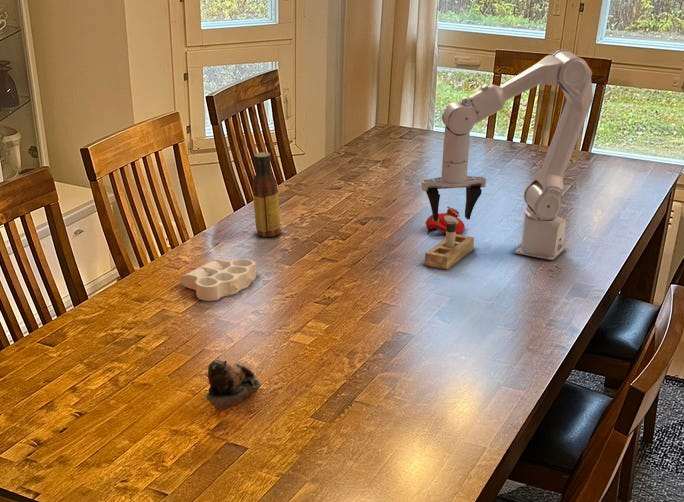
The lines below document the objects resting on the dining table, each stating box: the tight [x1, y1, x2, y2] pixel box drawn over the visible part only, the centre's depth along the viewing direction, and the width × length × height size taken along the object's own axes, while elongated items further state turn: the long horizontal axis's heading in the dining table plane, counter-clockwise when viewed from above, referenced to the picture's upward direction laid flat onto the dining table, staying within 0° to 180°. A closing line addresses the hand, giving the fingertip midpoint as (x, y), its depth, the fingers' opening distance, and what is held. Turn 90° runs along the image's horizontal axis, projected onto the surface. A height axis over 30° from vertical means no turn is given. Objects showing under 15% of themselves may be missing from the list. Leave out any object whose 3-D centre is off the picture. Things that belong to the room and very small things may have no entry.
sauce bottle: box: [252, 151, 282, 238], centre depth 247 cm, size 7×6×20 cm
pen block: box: [424, 234, 475, 271], centre depth 237 cm, size 6×15×3 cm, turn 147°
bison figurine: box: [205, 359, 262, 410], centre depth 180 cm, size 12×7×10 cm, turn 150°
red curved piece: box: [425, 205, 466, 235], centre depth 252 cm, size 12×4×10 cm
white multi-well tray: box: [179, 258, 257, 302], centre depth 226 cm, size 3×18×15 cm
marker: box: [445, 221, 456, 248], centre depth 235 cm, size 2×2×8 cm
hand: (451, 219), depth 232 cm, fingers open, 7 cm apart
